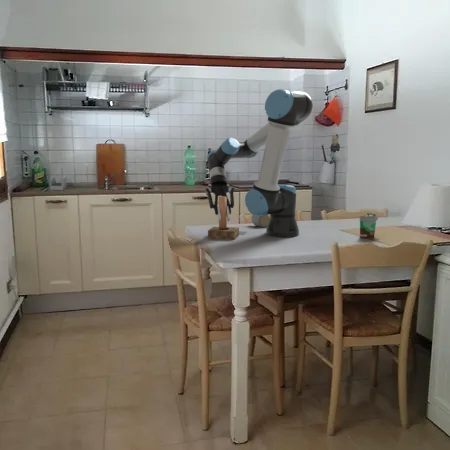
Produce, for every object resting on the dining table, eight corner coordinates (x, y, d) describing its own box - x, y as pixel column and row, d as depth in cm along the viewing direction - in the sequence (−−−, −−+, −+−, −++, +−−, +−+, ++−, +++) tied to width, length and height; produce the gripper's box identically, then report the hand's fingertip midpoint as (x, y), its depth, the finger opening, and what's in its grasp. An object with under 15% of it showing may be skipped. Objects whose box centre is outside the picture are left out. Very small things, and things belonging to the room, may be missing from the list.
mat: (247, 232, 226) (247, 231, 226) (244, 235, 218) (244, 234, 218) (226, 231, 228) (226, 230, 228) (223, 234, 220) (223, 234, 220)
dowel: (227, 227, 214) (227, 196, 212) (225, 228, 211) (225, 197, 209) (220, 227, 215) (219, 196, 213) (218, 228, 212) (218, 197, 209)
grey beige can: (258, 228, 236) (259, 213, 234) (251, 226, 243) (251, 211, 242) (277, 227, 240) (277, 212, 239) (268, 224, 247) (269, 210, 246)
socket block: (239, 236, 217) (239, 227, 216) (234, 240, 207) (234, 231, 206) (213, 235, 219) (213, 226, 219) (207, 239, 210) (207, 230, 209)
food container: (372, 239, 207) (373, 217, 205) (358, 238, 210) (359, 216, 208) (380, 235, 217) (381, 213, 215) (366, 233, 220) (367, 212, 218)
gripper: (234, 184, 226) (241, 224, 213) (200, 184, 223) (205, 225, 210) (236, 173, 220) (243, 214, 207) (201, 174, 217) (206, 215, 204)
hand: (224, 219), depth 208 cm, fingers closed on dowel, 3 cm apart
